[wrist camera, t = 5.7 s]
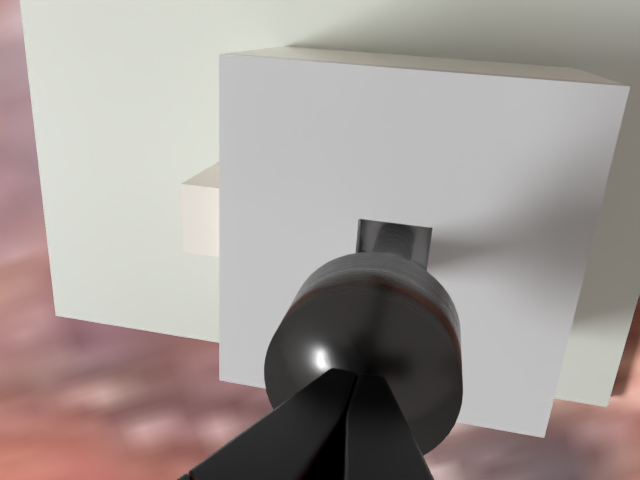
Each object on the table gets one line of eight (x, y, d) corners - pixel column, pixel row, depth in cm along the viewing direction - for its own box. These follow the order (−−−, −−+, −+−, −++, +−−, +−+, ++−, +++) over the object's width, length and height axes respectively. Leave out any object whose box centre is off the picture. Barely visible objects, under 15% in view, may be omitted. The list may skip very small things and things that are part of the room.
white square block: (574, 67, 17) (630, 86, 12) (519, 331, 21) (544, 437, 15) (242, 43, 19) (162, 50, 14) (239, 289, 22) (174, 372, 17)
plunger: (562, 115, 14) (663, 195, 7) (509, 371, 17) (549, 598, 10) (272, 90, 15) (140, 140, 9) (265, 332, 18) (159, 511, 11)
